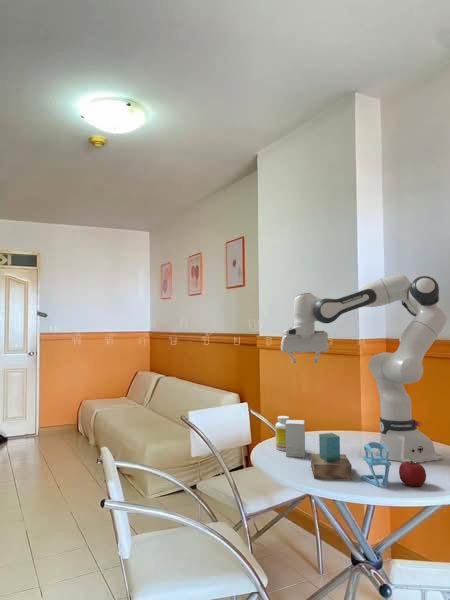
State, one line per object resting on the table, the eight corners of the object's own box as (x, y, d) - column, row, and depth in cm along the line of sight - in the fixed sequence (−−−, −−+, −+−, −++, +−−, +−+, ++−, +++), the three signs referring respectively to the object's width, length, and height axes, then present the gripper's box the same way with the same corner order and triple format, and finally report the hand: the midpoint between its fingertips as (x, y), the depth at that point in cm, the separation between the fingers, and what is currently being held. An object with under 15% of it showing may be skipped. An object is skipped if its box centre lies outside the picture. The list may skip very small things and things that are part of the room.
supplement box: (305, 457, 163) (304, 424, 164) (285, 456, 164) (284, 423, 165) (305, 452, 170) (304, 419, 171) (286, 451, 171) (286, 419, 172)
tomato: (401, 478, 139) (400, 455, 140) (428, 482, 135) (427, 459, 136) (396, 486, 133) (396, 462, 133) (425, 491, 129) (424, 466, 129)
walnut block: (345, 468, 151) (345, 454, 151) (351, 481, 139) (351, 465, 139) (311, 468, 152) (310, 453, 152) (314, 479, 140) (313, 464, 140)
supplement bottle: (293, 451, 171) (292, 418, 172) (276, 451, 172) (276, 418, 172) (291, 446, 178) (290, 415, 179) (275, 446, 178) (274, 415, 179)
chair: (370, 487, 132) (369, 448, 133) (360, 477, 140) (359, 440, 141) (395, 486, 132) (393, 447, 133) (383, 477, 141) (382, 440, 141)
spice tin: (332, 456, 149) (332, 433, 149) (340, 460, 144) (339, 436, 144) (319, 457, 147) (319, 434, 148) (326, 462, 143) (326, 437, 143)
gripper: (325, 330, 188) (326, 362, 187) (279, 330, 187) (280, 362, 186) (330, 330, 182) (330, 363, 181) (282, 331, 181) (283, 364, 180)
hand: (304, 363), depth 184 cm, fingers open, 8 cm apart
